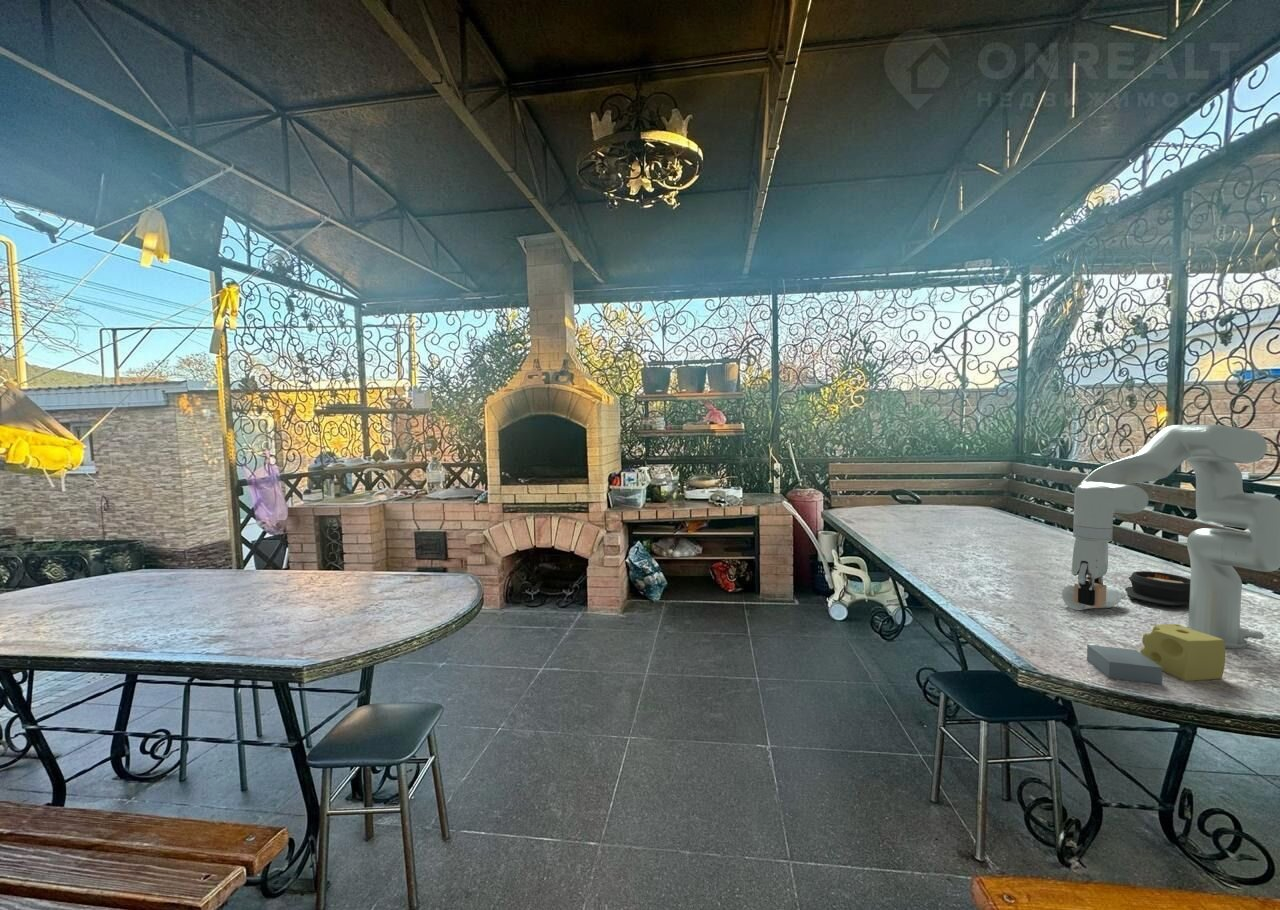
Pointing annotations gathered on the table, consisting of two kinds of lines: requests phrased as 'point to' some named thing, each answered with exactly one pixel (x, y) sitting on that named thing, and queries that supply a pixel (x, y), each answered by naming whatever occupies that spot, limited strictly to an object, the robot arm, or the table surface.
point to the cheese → (1185, 652)
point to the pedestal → (1124, 664)
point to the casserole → (1159, 588)
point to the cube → (1099, 594)
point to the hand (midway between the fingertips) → (1090, 601)
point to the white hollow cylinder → (1111, 599)
